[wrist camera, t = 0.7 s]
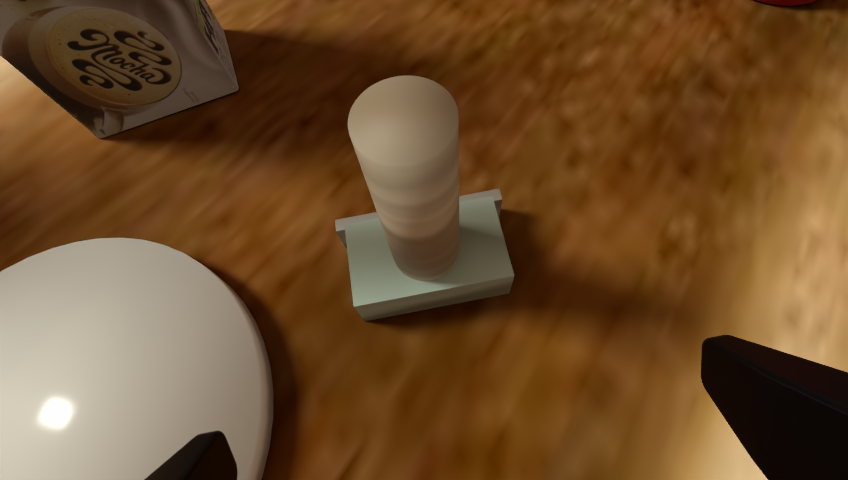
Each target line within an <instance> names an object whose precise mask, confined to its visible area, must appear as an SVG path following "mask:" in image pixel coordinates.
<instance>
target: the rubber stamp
mask: <svg viewBox="0 0 848 480" xmlns="http://www.w3.org/2000/svg"><path fill="white" fill-rule="evenodd" d="M348 131H349V135H350V138H351V141H352V143H353V146H354V149H355V152H356V155H357V157H358V160H359V163H360V166H361V169H362V171H363V174H364V177H365V180H366V183H367V185H368V188H369V191H370V194H371V197H372V199H373V202H374V205H375V208H376V211H377V212H375V213H370V214H364V215H359V216H354V217H349V218H344V219H338V220H335V224H336V232H337V233H338V235H339V237H340V239H341V240H342V242H343V244H344V245H345V247H346V248H347V252H348V261H349V270H350V278H351V287H352V295H353V304H354V308H355V309H356V310H357V312H358V313H359V314H360V316H361V317H362V318H363V320H364V321H370V320H375V319H380V318H385V317H390V316H395V315H401V314H406V313H411V312H416V311H421V310H426V309H432V308H437V307H442V306H447V305H452V304H457V303H463V302H468V301H473V300H478V299H483V298H488V297H494V296H499V295H504V294H509V292H510V289H511V286H512V282H513V279H514V272H513V269H512V265H511V261H510V258H509V254H508V251H507V247H506V243H505V240H504V236H503V232H502V229H501V225H500V222H499V216H500V210H501V204H502V197H501V193H500V190H499V189H495V190H490V191H484V192H479V193H474V194H469V195H464V196H459V122H458V108H457V105H456V102H455V101H454V99H453V97H452V96H451V94H450V93H449V92H448V91H447V90H446V89H445V88H444V87H443V86H441V85H440V84H438V83H436V82H435V81H432V80H430V79H427V78H423V77H419V76H409V75H407V76H396V77H391V78H387V79H384V80H382V81H379V82H377V83H375V84H373V85H372V86H370V87H369V88H367V89H366V90H365V91H364V92H363V93H362V94H361V95H360V96H359V97H358V98H357V99H356V101H355V102H354V104H353V105H352V108H351V110H350V113H349V116H348Z"/></svg>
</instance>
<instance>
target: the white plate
mask: <svg viewBox="0 0 848 480" xmlns="http://www.w3.org/2000/svg"><path fill="white" fill-rule="evenodd" d="M273 397H274V391H273V382H272V374H271V366H270V362H269V358H268V354H267V350H266V346H265V342H264V340H263V338H262V335H261V333H260V330H259V328H258V326H257V323H256V321H255V319H254V318H253V316H252V314H251V313H250V311H249V310H248V308H247V306H246V305H245V303H244V302H243V301H242V299H241V298H240V297H239V296H238V295H237V294H236V292H235V291H234V290H233V289H232V288H231V287H230V286H229V285H228V284H227V283H226V282H224V281H223V280H222V279H221V278H220V277H219V276H217V275H216V274H215V273H213V272H212V271H211V270H209V269H208V268H206V267H205V266H204V265H202V264H201V263H199V262H197V261H196V260H194V259H193V258H191V257H189V256H188V255H186V254H184V253H183V252H180V251H178V250H175V249H173V248H170V247H168V246H165V245H162V244H158V243H154V242H150V241H146V240H140V239H130V238H98V239H91V240H85V241H78V242H74V243H70V244H66V245H62V246H59V247H55V248H52V249H49V250H46V251H44V252H41V253H38V254H36V255H33V256H30V257H28V258H26V259H24V260H22V261H20V262H18V263H16V264H14V265H12V266H10V267H8V268H6V269H4V270H3V271H1V272H0V480H144V479H145V478H147V477H148V476H149V475H150V474H151V473H153V472H154V471H155V470H156V469H157V468H158V467H160V466H161V465H162V464H163V463H164V462H166V461H167V460H168V459H169V458H170V457H171V456H173V455H174V454H175V453H176V452H177V451H179V450H180V449H181V448H182V447H183V446H184V445H186V444H187V443H188V442H189V441H190V440H192V439H193V438H194V437H195V436H196V435H198V434H201V433H206V432H211V431H217V430H218V431H221V432H223V433H224V435H225V437H226V439H227V441H228V444H229V446H230V449H231V451H232V454H233V456H234V459H235V461H236V464H237V471H238V474H237V480H262V477H263V473H264V469H265V465H266V461H267V456H268V452H269V448H270V441H271V433H272V425H273Z"/></svg>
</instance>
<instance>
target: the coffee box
mask: <svg viewBox="0 0 848 480" xmlns="http://www.w3.org/2000/svg"><path fill="white" fill-rule="evenodd" d="M0 56H2V57H3V58H4V59H5V60H7V61H8V62H9V63H10V64H11V65H13V66H14V67H15V68H16V69H17V70H19V71H20V72H21V73H22V74H23V75H25V76H26V77H27V78H28V79H29V80H30V81H32V82H33V83H34V84H35V85H36V86H37V87H39V88H40V89H41V90H42V91H43V92H44V93H45V94H47V95H48V96H49V97H51V98H52V99H53V100H54V101H55V102H56V103H58V104H59V105H60V106H61V107H62V108H64V109H65V110H66V111H67V112H68V113H69V114H71V115H72V116H73V117H74V118H76V119H77V120H78V121H79V122H80V123H82V124H83V125H84V126H85V127H86V128H87V129H88V130H90V131H91V132H92V133H93V134H94V135H95V136H96V137H97V138H104V137H107V136H110V135H113V134H116V133H119V132H121V131H124V130H127V129H130V128H133V127H136V126H139V125H141V124H144V123H147V122H150V121H153V120H156V119H159V118H162V117H164V116H167V115H170V114H173V113H176V112H179V111H182V110H184V109H187V108H190V107H193V106H196V105H199V104H202V103H204V102H207V101H210V100H213V99H216V98H219V97H221V96H224V95H227V94H230V93H233V92H236V91H238V89H239V87H238V83H237V79H236V75H235V71H234V67H233V63H232V59H231V55H230V51H229V47H228V43H227V40H226V37H225V33H224V30H223V28H222V27H221V25H220V24H219V22H218V21H217V19H216V17H215V15H214V14H213V12H212V11H211V9H210V7H209V5H208V4H207V2H206V0H0Z"/></svg>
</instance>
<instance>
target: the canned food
mask: <svg viewBox="0 0 848 480" xmlns="http://www.w3.org/2000/svg"><path fill="white" fill-rule="evenodd" d="M756 1H759V2H763V3H766V4H773V5H784V6H793V5H802V4H807V3H811V2H814V1H817V0H756Z"/></svg>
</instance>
